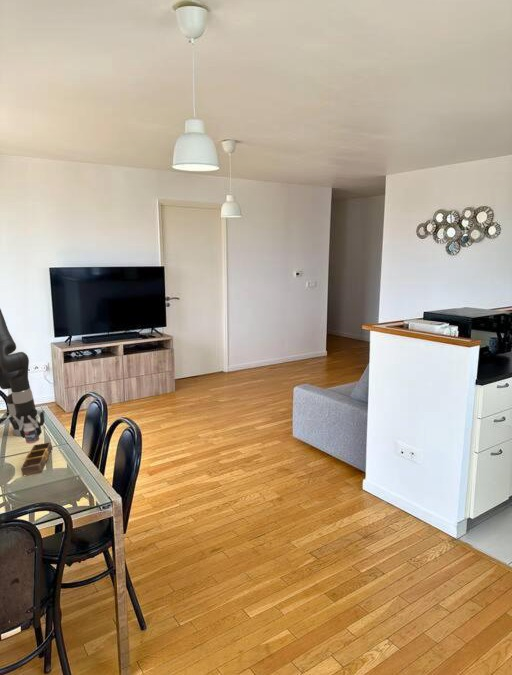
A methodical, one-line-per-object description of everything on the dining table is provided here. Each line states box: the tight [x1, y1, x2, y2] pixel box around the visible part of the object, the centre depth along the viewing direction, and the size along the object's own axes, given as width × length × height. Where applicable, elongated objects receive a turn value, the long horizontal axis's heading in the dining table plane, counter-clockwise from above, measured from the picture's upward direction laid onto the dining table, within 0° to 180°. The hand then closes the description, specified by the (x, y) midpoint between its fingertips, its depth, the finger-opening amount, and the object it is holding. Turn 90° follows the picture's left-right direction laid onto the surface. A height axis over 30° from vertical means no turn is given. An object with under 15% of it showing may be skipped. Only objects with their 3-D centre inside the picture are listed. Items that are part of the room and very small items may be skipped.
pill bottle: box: [23, 422, 40, 445], centre depth 199 cm, size 5×5×9 cm
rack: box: [20, 441, 53, 477], centre depth 202 cm, size 21×8×4 cm, turn 11°
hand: (31, 435), depth 199 cm, fingers closed on pill bottle, 5 cm apart
